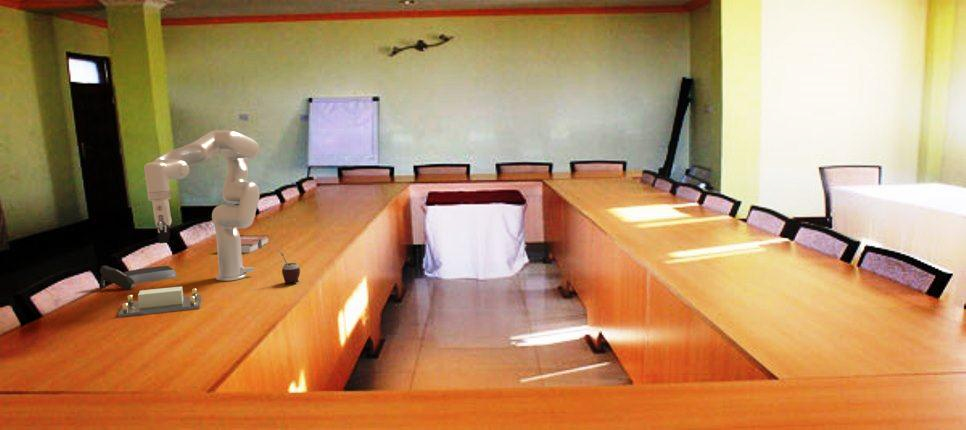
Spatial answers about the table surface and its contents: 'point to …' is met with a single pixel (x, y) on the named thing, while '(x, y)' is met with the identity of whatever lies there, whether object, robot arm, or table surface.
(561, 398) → the table surface
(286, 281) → the mate gourd
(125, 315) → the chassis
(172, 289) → the pale grey rectangular block
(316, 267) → the table surface
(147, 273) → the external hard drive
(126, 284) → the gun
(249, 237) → the book
